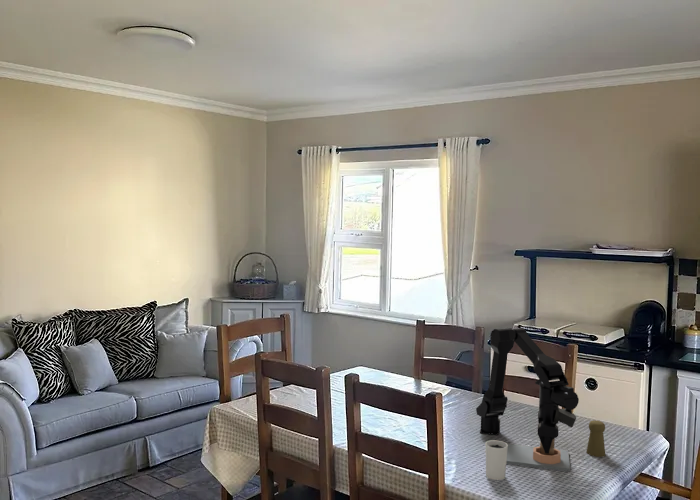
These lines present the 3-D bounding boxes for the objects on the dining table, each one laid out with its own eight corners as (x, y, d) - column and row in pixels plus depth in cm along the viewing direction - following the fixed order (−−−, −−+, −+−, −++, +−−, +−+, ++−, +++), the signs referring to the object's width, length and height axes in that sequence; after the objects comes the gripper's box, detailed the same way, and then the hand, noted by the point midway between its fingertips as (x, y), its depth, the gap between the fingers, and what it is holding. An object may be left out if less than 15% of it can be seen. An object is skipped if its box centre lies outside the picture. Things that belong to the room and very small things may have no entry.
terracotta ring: (532, 461, 203) (533, 454, 203) (533, 452, 211) (533, 445, 211) (560, 465, 201) (560, 457, 200) (559, 455, 209) (560, 448, 208)
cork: (607, 457, 210) (608, 425, 209) (587, 456, 211) (589, 423, 211) (603, 451, 216) (604, 419, 215) (585, 449, 217) (586, 418, 216)
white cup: (481, 471, 197) (482, 440, 196) (502, 471, 198) (503, 440, 197) (488, 481, 190) (489, 448, 190) (509, 480, 191) (510, 448, 190)
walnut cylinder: (539, 460, 204) (540, 436, 204) (539, 455, 208) (540, 431, 208) (553, 462, 203) (554, 437, 202) (553, 457, 207) (554, 433, 207)
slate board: (504, 463, 204) (504, 460, 204) (507, 446, 219) (507, 443, 219) (569, 471, 198) (570, 468, 198) (568, 453, 213) (568, 450, 213)
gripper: (576, 412, 193) (574, 462, 194) (573, 395, 211) (571, 441, 212) (538, 408, 197) (536, 457, 198) (538, 392, 214) (537, 437, 215)
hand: (546, 448), depth 206 cm, fingers open, 9 cm apart
